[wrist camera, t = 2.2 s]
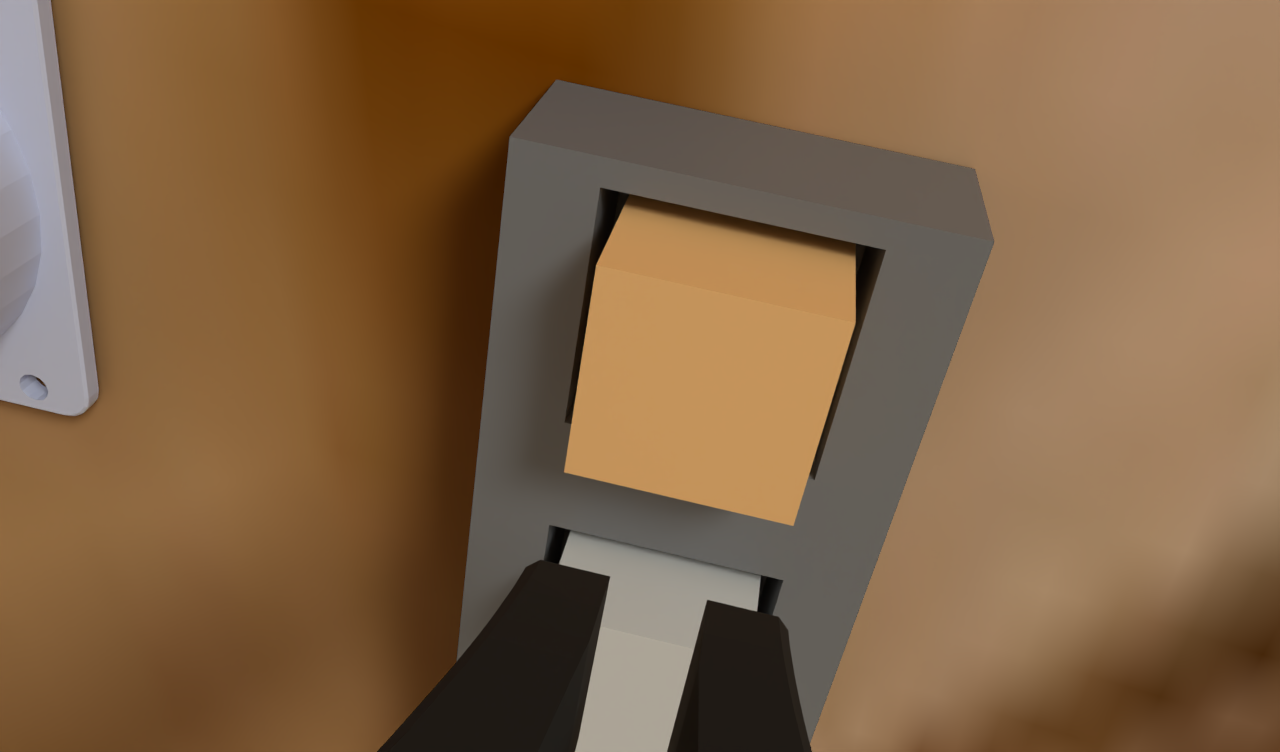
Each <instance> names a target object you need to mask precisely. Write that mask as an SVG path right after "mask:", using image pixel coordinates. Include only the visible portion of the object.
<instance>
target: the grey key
mask: <svg viewBox="0 0 1280 752" xmlns="http://www.w3.org/2000/svg"><path fill="white" fill-rule="evenodd" d="M559 564H560V565H565V566H569V567H573V568H577V569H581V570H586V571H590V572H594V573H598V574H602V575H606V576H610V581H609V586H608V591H607V596H606V601H605V606H604V611H603V616H602V621H601V626H600V631H599V637H598V642H597V647H596V652H595V657H594V662H593V667H592V672H591V677H590V682H589V687H588V693H587V698H586V703H585V708H584V713H583V718H582V723H581V728H580V733H579V738H578V742H577V746H576V750H575V752H667V750H668V746H669V742H670V738H671V735H672V731H673V727H674V723H675V719H676V716H677V712H678V708H679V704H680V700H681V697H682V693H683V689H684V685H685V681H686V678H687V674H688V670H689V666H690V663H691V659H692V655H693V651H694V647H695V644H696V640H697V636H698V632H699V628H700V625H701V621H702V617H703V613H704V610H705V606H706V602H707V600H711V601H715V602H719V603H723V604H728V605H732V606H736V607H740V608H744V609H748V610H753V611H757V607H758V598H759V589H760V580H761V575H759V574H755V573H750V572H746V571H742V570H738V569H734V568H729V567H725V566H721V565H717V564H713V563H708V562H704V561H700V560H696V559H691V558H687V557H683V556H679V555H675V554H670V553H666V552H662V551H658V550H654V549H649V548H645V547H641V546H637V545H632V544H628V543H624V542H620V541H616V540H611V539H607V538H603V537H599V536H595V535H590V534H586V533H582V532H578V531H573V530H571V531H570V534H569V537H568V540H567V543H566V545H565V548H564V551H563V554H562V557H561V560H560V563H559Z"/></svg>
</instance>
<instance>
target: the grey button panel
mask: <svg viewBox="0 0 1280 752" xmlns="http://www.w3.org/2000/svg"><path fill="white" fill-rule="evenodd" d="M629 194H632V195H637V196H642V197H646V198H651V199H655V200H660V201H664V202H669V203H674V204H678V205H683V206H687V207H692V208H696V209H701V210H706V211H710V212H715V213H719V214H724V215H729V216H733V217H738V218H742V219H747V220H751V221H756V222H761V223H765V224H770V225H774V226H779V227H783V228H788V229H793V230H797V231H802V232H806V233H811V234H815V235H820V236H825V237H829V238H834V239H838V240H843V241H847V242H852V243H856V323H855V327H854V330H853V333H852V336H851V340H850V343H849V346H848V349H847V353H846V356H845V359H844V362H843V366H842V369H841V372H840V376H839V379H838V382H837V385H836V389H835V392H834V395H833V398H832V402H831V405H830V408H829V411H828V415H827V418H826V421H825V424H824V428H823V431H822V434H821V438H820V441H819V444H818V447H817V451H816V454H815V457H814V460H813V464H812V467H811V470H810V473H809V477H808V480H807V483H806V486H805V490H804V493H803V496H802V500H801V503H800V506H799V509H798V513H797V516H796V519H795V522H794V526H791V525H787V524H783V523H778V522H774V521H770V520H765V519H761V518H757V517H753V516H748V515H744V514H740V513H736V512H731V511H727V510H723V509H719V508H714V507H710V506H706V505H701V504H697V503H693V502H689V501H684V500H680V499H676V498H672V497H667V496H663V495H659V494H655V493H650V492H646V491H642V490H637V489H633V488H629V487H625V486H620V485H616V484H612V483H608V482H603V481H599V480H595V479H591V478H586V477H582V476H578V475H573V474H569V473H565V472H564V469H565V462H566V456H567V449H568V443H569V437H570V430H571V424H572V417H573V411H574V404H575V398H576V392H577V385H578V379H579V372H580V366H581V359H582V353H583V347H584V340H585V334H586V327H587V321H588V314H589V308H590V301H591V295H592V289H593V282H594V276H595V269H596V264H597V262H598V260H599V258H600V256H601V254H602V252H603V250H604V247H605V245H606V243H607V241H608V239H609V237H610V235H611V233H612V230H613V228H614V226H615V224H616V222H617V220H618V218H619V216H620V214H621V211H622V209H623V207H624V205H625V203H626V201H627V199H628V197H629ZM993 244H994V239H993V235H992V231H991V227H990V224H989V220H988V216H987V212H986V208H985V205H984V201H983V197H982V193H981V190H980V186H979V182H978V178H977V175H976V171H975V169H972V168H968V167H963V166H958V165H954V164H949V163H944V162H940V161H935V160H930V159H926V158H921V157H916V156H911V155H907V154H902V153H897V152H893V151H888V150H883V149H879V148H874V147H869V146H865V145H860V144H855V143H851V142H846V141H841V140H837V139H832V138H827V137H822V136H818V135H813V134H808V133H804V132H799V131H794V130H790V129H785V128H780V127H776V126H771V125H766V124H762V123H757V122H752V121H747V120H743V119H738V118H733V117H729V116H724V115H719V114H715V113H710V112H705V111H701V110H696V109H691V108H687V107H682V106H677V105H672V104H668V103H663V102H658V101H654V100H649V99H644V98H640V97H635V96H630V95H626V94H621V93H616V92H612V91H607V90H602V89H598V88H593V87H588V86H583V85H579V84H574V83H569V82H565V81H560V80H556V81H555V82H554V83H553V85H552V86H551V87H550V88H549V89H548V91H547V92H546V93H545V94H544V95H543V97H542V98H541V99H540V100H539V102H538V103H537V104H536V105H535V106H534V108H533V109H532V110H531V111H530V113H529V114H528V115H527V116H526V117H525V119H524V120H523V121H522V122H521V123H520V125H519V126H518V127H517V128H516V130H515V131H514V132H513V133H512V134H511V136H510V139H509V149H508V158H507V168H506V178H505V188H504V198H503V208H502V218H501V227H500V237H499V247H498V257H497V267H496V277H495V287H494V296H493V306H492V316H491V326H490V336H489V346H488V356H487V366H486V375H485V385H484V395H483V405H482V415H481V425H480V435H479V444H478V454H477V464H476V474H475V484H474V494H473V504H472V514H471V523H470V533H469V543H468V553H467V563H466V573H465V583H464V592H463V602H462V612H461V622H460V632H459V642H458V652H457V661H458V659H459V658H460V657H461V656H462V655H463V653H464V652H465V651H466V650H467V648H468V647H469V646H470V645H471V643H472V642H473V641H474V640H475V639H476V637H477V636H478V635H479V633H480V632H481V631H482V630H483V628H484V627H485V626H486V624H487V623H488V622H489V620H490V619H491V618H492V616H493V615H494V614H495V612H496V611H497V610H498V608H499V607H500V605H501V604H502V603H503V601H504V600H505V598H506V597H507V595H508V594H509V593H510V591H511V590H512V588H513V587H514V585H515V584H516V582H517V580H518V579H519V577H520V576H521V574H522V572H523V571H524V569H525V567H527V566H529V565H531V564H533V563H535V562H537V561H539V560H544V561H548V562H552V563H556V564H559V563H560V560H561V557H562V554H563V551H564V548H565V545H566V543H567V540H568V537H569V534H570V531H571V530H573V531H578V532H582V533H586V534H590V535H595V536H599V537H603V538H607V539H611V540H616V541H620V542H624V543H628V544H632V545H637V546H641V547H645V548H649V549H654V550H658V551H662V552H666V553H670V554H675V555H679V556H683V557H687V558H691V559H696V560H700V561H704V562H708V563H713V564H717V565H721V566H725V567H729V568H734V569H738V570H742V571H746V572H750V573H755V574H759V575H761V580H760V589H759V598H758V607H757V612H761V613H765V614H769V615H774V616H778V617H779V618H780V619H781V621H782V622H783V623H784V625H785V626H786V628H787V629H788V632H789V642H790V650H791V656H792V662H793V668H794V674H795V679H796V685H797V690H798V695H799V699H800V704H801V709H802V713H803V718H804V722H805V726H806V730H807V734H808V738H809V742H811V739H812V736H813V734H814V731H815V728H816V725H817V723H818V720H819V717H820V715H821V712H822V709H823V706H824V704H825V701H826V698H827V696H828V693H829V690H830V687H831V685H832V682H833V679H834V676H835V674H836V671H837V668H838V666H839V663H840V660H841V657H842V655H843V652H844V649H845V647H846V644H847V641H848V638H849V636H850V633H851V630H852V628H853V625H854V622H855V619H856V617H857V614H858V611H859V608H860V606H861V603H862V600H863V598H864V595H865V592H866V589H867V587H868V584H869V581H870V579H871V576H872V573H873V570H874V568H875V565H876V562H877V560H878V557H879V554H880V551H881V549H882V546H883V543H884V540H885V538H886V535H887V532H888V530H889V527H890V524H891V521H892V519H893V516H894V513H895V511H896V508H897V505H898V502H899V500H900V497H901V494H902V492H903V489H904V486H905V483H906V481H907V478H908V475H909V472H910V470H911V467H912V464H913V462H914V459H915V456H916V453H917V451H918V448H919V445H920V443H921V440H922V437H923V434H924V432H925V429H926V426H927V424H928V421H929V418H930V415H931V413H932V410H933V407H934V404H935V402H936V399H937V396H938V394H939V391H940V388H941V385H942V383H943V380H944V377H945V375H946V372H947V369H948V366H949V364H950V361H951V358H952V356H953V353H954V350H955V347H956V345H957V342H958V339H959V336H960V334H961V331H962V328H963V326H964V323H965V320H966V317H967V315H968V312H969V309H970V307H971V304H972V301H973V298H974V296H975V293H976V290H977V288H978V285H979V282H980V279H981V277H982V274H983V271H984V269H985V266H986V263H987V260H988V258H989V255H990V252H991V249H992V247H993Z"/></svg>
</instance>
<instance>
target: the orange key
mask: <svg viewBox="0 0 1280 752" xmlns="http://www.w3.org/2000/svg"><path fill="white" fill-rule="evenodd" d="M855 323H856V243H852V242H847V241H843V240H838V239H834V238H829V237H825V236H820V235H815V234H811V233H806V232H802V231H797V230H793V229H788V228H783V227H779V226H774V225H770V224H765V223H761V222H756V221H751V220H747V219H742V218H738V217H733V216H729V215H724V214H719V213H715V212H710V211H706V210H701V209H696V208H692V207H687V206H683V205H678V204H674V203H669V202H664V201H660V200H655V199H651V198H646V197H642V196H637V195H632V194H629V197H628V199H627V201H626V203H625V205H624V207H623V209H622V211H621V214H620V216H619V218H618V220H617V222H616V224H615V226H614V228H613V230H612V233H611V235H610V237H609V239H608V241H607V243H606V245H605V247H604V250H603V252H602V254H601V256H600V258H599V260H598V262H597V264H596V269H595V276H594V282H593V289H592V295H591V301H590V308H589V314H588V321H587V327H586V334H585V340H584V347H583V353H582V359H581V366H580V372H579V379H578V385H577V392H576V398H575V404H574V411H573V417H572V424H571V430H570V437H569V443H568V449H567V456H566V462H565V469H564V472H565V473H569V474H573V475H578V476H582V477H586V478H591V479H595V480H599V481H603V482H608V483H612V484H616V485H620V486H625V487H629V488H633V489H637V490H642V491H646V492H650V493H655V494H659V495H663V496H667V497H672V498H676V499H680V500H684V501H689V502H693V503H697V504H701V505H706V506H710V507H714V508H719V509H723V510H727V511H731V512H736V513H740V514H744V515H748V516H753V517H757V518H761V519H765V520H770V521H774V522H778V523H783V524H787V525H791V526H794V522H795V519H796V516H797V513H798V509H799V506H800V503H801V500H802V496H803V493H804V490H805V486H806V483H807V480H808V477H809V473H810V470H811V467H812V464H813V460H814V457H815V454H816V451H817V447H818V444H819V441H820V438H821V434H822V431H823V428H824V424H825V421H826V418H827V415H828V411H829V408H830V405H831V402H832V398H833V395H834V392H835V389H836V385H837V382H838V379H839V376H840V372H841V369H842V366H843V362H844V359H845V356H846V353H847V349H848V346H849V343H850V340H851V336H852V333H853V330H854V327H855Z"/></svg>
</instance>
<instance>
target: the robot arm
mask: <svg viewBox="0 0 1280 752" xmlns="http://www.w3.org/2000/svg"><path fill="white" fill-rule="evenodd" d="M36 377H38V378H40V379H41V380H42V381H43V382H44V383H45V385H46V387H45V386H43V385H42V384H41V383H40V382H39V381H38V380H37V379H36ZM98 393H99V387H98V379H97V371H96V363H95V355H94V347H93V339H92V331H91V322H90V314H89V306H88V298H87V290H86V282H85V274H84V266H83V258H82V250H81V242H80V234H79V225H78V217H77V209H76V201H75V193H74V185H73V177H72V169H71V161H70V153H69V145H68V137H67V128H66V120H65V112H64V104H63V96H62V88H61V80H60V72H59V64H58V56H57V48H56V39H55V31H54V23H53V15H52V7H51V0H0V400H3V401H7V402H11V403H15V404H20V405H24V406H28V407H32V408H36V409H41V410H45V411H49V412H53V413H57V414H62V415H67V416H77V415H80V414H82V413H84V412H85V411H86V410H87V409H88V408H90V407H91V406H92V405H93V404H94V403H95V401H96V400H97V399H98ZM609 581H610V576H606V575H602V574H598V573H594V572H590V571H586V570H581V569H577V568H573V567H569V566H565V565H560V564H556V563H552V562H548V561H544V560H539V561H537V562H535V563H533V564H531V565H529V566H527V567H525V569H524V571H523V572H522V574H521V576H520V577H519V579H518V580H517V582H516V584H515V585H514V587H513V588H512V590H511V591H510V593H509V594H508V595H507V597H506V598H505V600H504V601H503V603H502V604H501V605H500V607H499V608H498V610H497V611H496V612H495V614H494V615H493V616H492V618H491V619H490V620H489V622H488V623H487V624H486V626H485V627H484V628H483V630H482V631H481V632H480V633H479V635H478V636H477V637H476V639H475V640H474V641H473V642H472V643H471V645H470V646H469V647H468V648H467V650H466V651H465V652H464V653H463V655H462V656H461V657H460V658H459V659H458V661H457V662H456V663H455V664H454V666H453V667H452V668H451V669H450V671H449V672H448V673H447V674H446V675H445V676H444V678H443V679H442V680H441V681H440V682H439V683H438V684H437V685H436V687H435V688H434V689H433V690H432V691H431V692H430V693H429V694H428V696H427V697H426V698H425V699H424V700H423V701H422V702H421V703H420V705H419V706H418V707H417V708H416V709H415V710H414V711H413V712H412V714H411V715H410V716H409V717H408V718H407V719H406V720H405V721H404V723H403V724H402V725H401V726H400V727H399V728H398V729H397V730H396V732H395V733H394V734H393V735H392V736H391V737H390V738H389V739H388V740H387V742H386V743H385V744H384V745H383V746H382V747H381V748H380V749H379V750H378V751H377V752H575V750H576V746H577V742H578V738H579V733H580V728H581V723H582V718H583V713H584V708H585V703H586V698H587V693H588V687H589V682H590V677H591V672H592V667H593V662H594V657H595V652H596V647H597V642H598V637H599V631H600V626H601V621H602V616H603V611H604V606H605V601H606V596H607V591H608V586H609ZM667 752H812V751H811V747H810V742H809V738H808V734H807V730H806V726H805V722H804V718H803V713H802V709H801V704H800V699H799V695H798V690H797V685H796V679H795V674H794V668H793V662H792V656H791V650H790V642H789V632H788V629H787V628H786V626H785V625H784V623H783V622H782V621H781V619H780V618H779V617H778V616H774V615H769V614H765V613H761V612H757V611H753V610H748V609H744V608H740V607H736V606H732V605H728V604H723V603H719V602H715V601H711V600H707V602H706V606H705V610H704V613H703V617H702V621H701V625H700V628H699V632H698V636H697V640H696V644H695V647H694V651H693V655H692V659H691V663H690V666H689V670H688V674H687V678H686V681H685V685H684V689H683V693H682V697H681V700H680V704H679V708H678V712H677V716H676V719H675V723H674V727H673V731H672V735H671V738H670V742H669V746H668V750H667Z"/></svg>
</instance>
